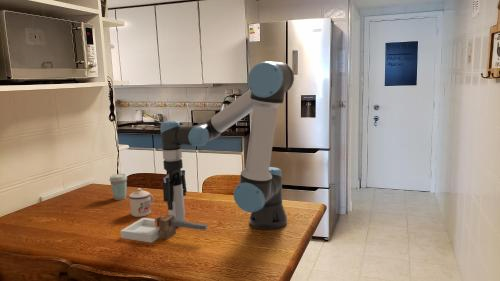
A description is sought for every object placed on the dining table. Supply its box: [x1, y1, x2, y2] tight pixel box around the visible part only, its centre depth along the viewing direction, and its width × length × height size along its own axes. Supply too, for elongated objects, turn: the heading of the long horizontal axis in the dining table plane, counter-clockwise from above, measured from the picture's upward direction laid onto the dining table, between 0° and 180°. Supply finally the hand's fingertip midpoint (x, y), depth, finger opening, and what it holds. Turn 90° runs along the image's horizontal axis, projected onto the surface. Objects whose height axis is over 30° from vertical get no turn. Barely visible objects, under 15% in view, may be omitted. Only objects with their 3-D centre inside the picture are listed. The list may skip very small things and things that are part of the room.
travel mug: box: [169, 177, 186, 222], centre depth 159 cm, size 6×7×20 cm
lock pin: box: [154, 215, 208, 231], centre depth 145 cm, size 21×4×4 cm, turn 68°
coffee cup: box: [109, 173, 128, 201], centre depth 196 cm, size 9×8×12 cm
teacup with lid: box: [128, 187, 154, 218], centre depth 174 cm, size 12×9×12 cm
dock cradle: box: [120, 217, 160, 243], centre depth 152 cm, size 14×14×3 cm
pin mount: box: [159, 214, 176, 240], centre depth 148 cm, size 3×6×7 cm, turn 158°
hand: (177, 213), depth 160 cm, fingers closed on travel mug, 6 cm apart
